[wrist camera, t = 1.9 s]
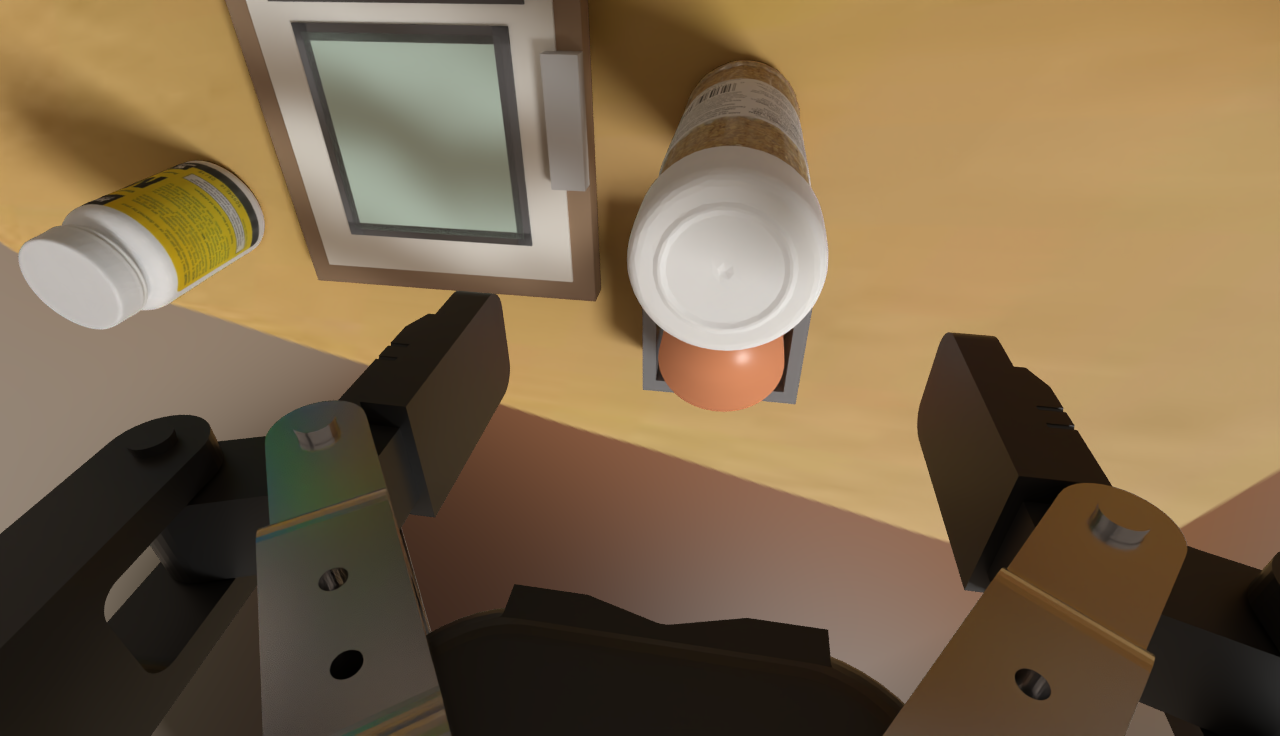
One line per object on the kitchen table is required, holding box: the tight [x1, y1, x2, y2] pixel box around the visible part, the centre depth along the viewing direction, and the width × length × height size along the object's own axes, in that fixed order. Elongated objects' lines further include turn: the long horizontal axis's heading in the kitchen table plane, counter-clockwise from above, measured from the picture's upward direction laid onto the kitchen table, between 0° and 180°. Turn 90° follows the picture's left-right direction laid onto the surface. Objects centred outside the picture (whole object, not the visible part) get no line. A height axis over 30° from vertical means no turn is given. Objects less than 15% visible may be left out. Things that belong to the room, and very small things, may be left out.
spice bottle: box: [627, 60, 828, 351], centre depth 19 cm, size 5×5×14 cm
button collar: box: [643, 308, 812, 404], centre depth 28 cm, size 7×7×3 cm
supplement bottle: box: [18, 161, 265, 329], centre depth 28 cm, size 5×5×8 cm
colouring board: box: [225, 0, 601, 301], centre depth 26 cm, size 16×14×2 cm
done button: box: [658, 331, 784, 411], centre depth 27 cm, size 5×5×4 cm
